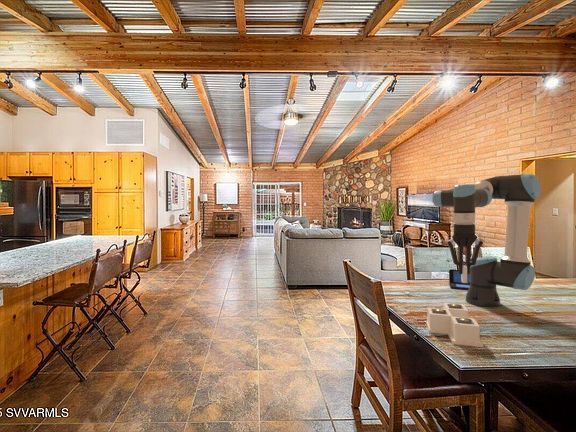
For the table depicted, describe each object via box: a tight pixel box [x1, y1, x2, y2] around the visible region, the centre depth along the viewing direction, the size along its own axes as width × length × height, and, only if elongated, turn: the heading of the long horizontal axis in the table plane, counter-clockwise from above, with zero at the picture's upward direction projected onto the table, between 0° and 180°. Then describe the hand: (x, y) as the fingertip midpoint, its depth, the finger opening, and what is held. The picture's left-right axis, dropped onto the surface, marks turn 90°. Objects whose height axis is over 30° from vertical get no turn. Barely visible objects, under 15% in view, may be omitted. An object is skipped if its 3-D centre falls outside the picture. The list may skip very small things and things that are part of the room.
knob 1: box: [450, 303, 461, 309], centre depth 135 cm, size 4×4×6 cm
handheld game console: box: [448, 269, 470, 291], centre depth 190 cm, size 16×13×9 cm
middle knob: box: [433, 307, 445, 314], centre depth 129 cm, size 4×4×6 cm
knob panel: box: [425, 302, 484, 348], centre depth 128 cm, size 17×27×7 cm, turn 163°
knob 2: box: [458, 317, 471, 324], centre depth 119 cm, size 4×4×6 cm
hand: (464, 282), depth 126 cm, fingers closed
